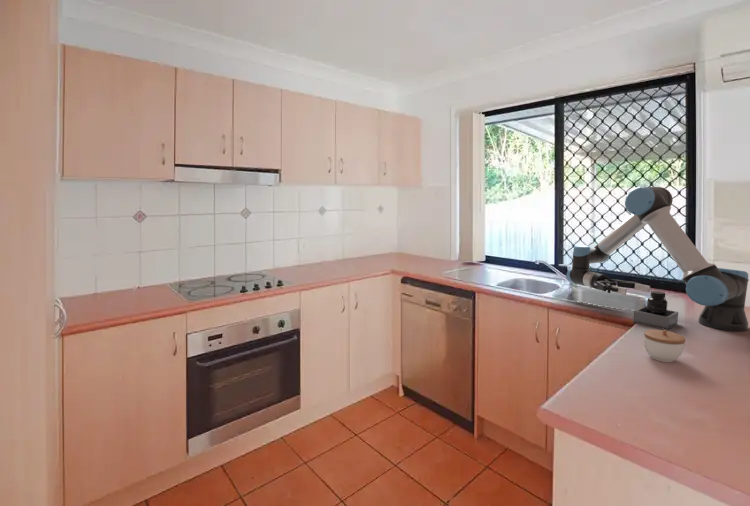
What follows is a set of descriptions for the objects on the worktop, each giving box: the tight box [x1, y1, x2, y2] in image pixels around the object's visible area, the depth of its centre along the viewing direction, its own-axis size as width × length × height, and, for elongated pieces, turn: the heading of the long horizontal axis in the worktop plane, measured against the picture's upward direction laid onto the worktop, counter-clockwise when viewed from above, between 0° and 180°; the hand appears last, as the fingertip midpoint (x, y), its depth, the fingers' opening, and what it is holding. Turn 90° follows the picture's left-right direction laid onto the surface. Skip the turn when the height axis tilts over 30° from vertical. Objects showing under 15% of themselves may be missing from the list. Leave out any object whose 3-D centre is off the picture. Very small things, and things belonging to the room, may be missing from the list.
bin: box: [632, 305, 679, 331], centre depth 166 cm, size 12×12×5 cm
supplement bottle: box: [646, 290, 668, 316], centre depth 165 cm, size 7×7×12 cm
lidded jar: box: [643, 329, 686, 363], centre depth 130 cm, size 11×11×9 cm
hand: (637, 290), depth 173 cm, fingers open, 13 cm apart
